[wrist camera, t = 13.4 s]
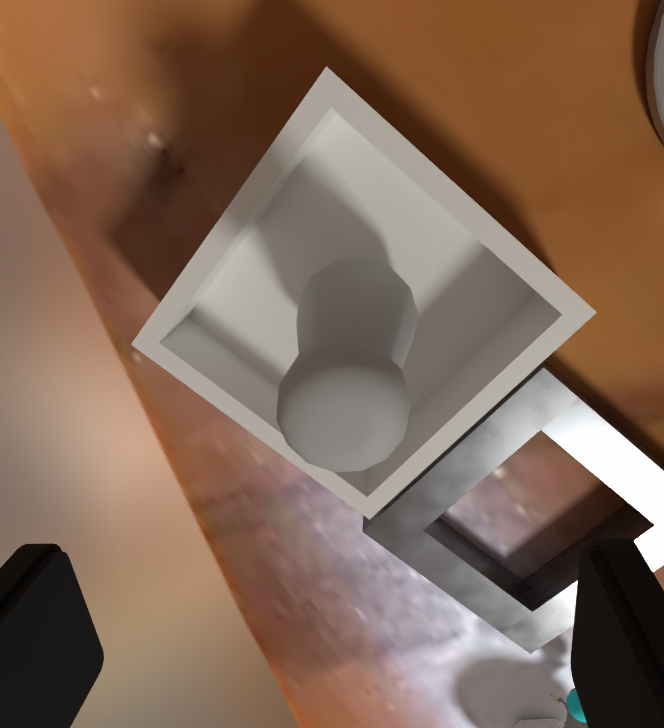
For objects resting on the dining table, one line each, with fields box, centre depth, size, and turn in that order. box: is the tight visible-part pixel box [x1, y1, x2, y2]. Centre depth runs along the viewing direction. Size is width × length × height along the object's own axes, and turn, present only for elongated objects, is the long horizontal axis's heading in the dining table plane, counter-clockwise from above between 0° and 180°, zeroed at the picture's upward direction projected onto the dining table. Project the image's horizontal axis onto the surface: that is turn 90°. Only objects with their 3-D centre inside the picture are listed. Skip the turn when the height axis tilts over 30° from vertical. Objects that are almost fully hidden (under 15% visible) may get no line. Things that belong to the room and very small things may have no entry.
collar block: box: [362, 361, 664, 654], centre depth 32 cm, size 14×14×2 cm
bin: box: [131, 66, 597, 520], centre depth 27 cm, size 15×15×5 cm
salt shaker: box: [276, 257, 418, 472], centre depth 22 cm, size 6×6×13 cm
